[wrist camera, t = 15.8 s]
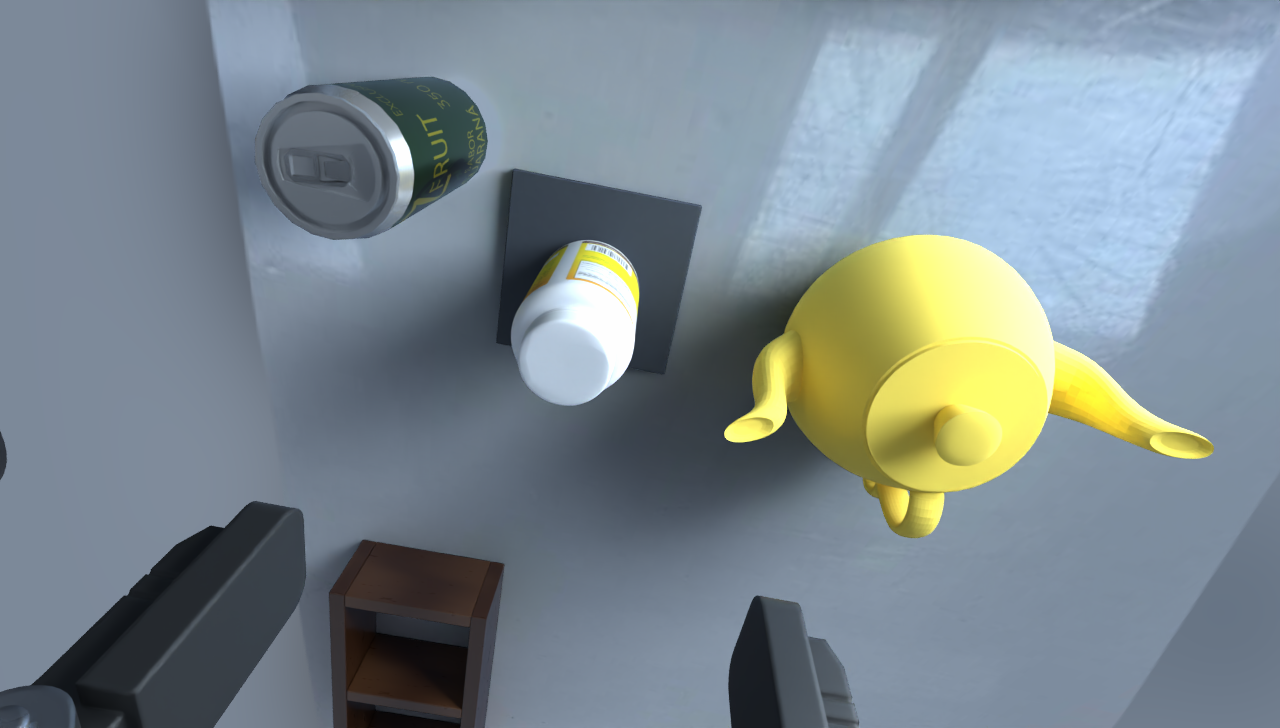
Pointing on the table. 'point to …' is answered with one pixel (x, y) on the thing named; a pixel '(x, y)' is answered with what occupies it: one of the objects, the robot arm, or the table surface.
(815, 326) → the teapot
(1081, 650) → the table surface
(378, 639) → the bottle rack
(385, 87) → the beer can
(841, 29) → the table surface
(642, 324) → the coaster
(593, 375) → the supplement bottle
